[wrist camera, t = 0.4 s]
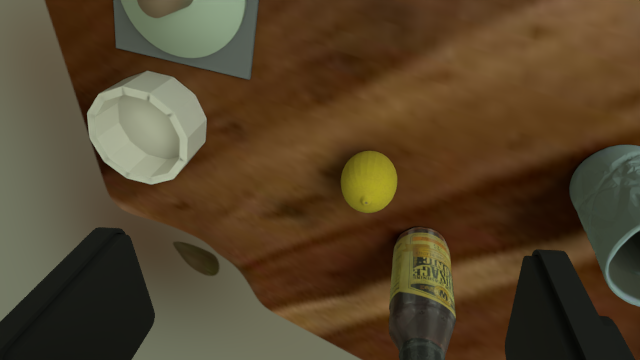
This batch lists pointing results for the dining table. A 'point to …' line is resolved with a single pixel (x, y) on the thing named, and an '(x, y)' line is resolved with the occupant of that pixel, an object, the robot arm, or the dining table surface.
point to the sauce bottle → (421, 295)
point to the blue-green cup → (612, 214)
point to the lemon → (368, 181)
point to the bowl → (147, 127)
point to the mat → (225, 60)
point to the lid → (187, 24)
